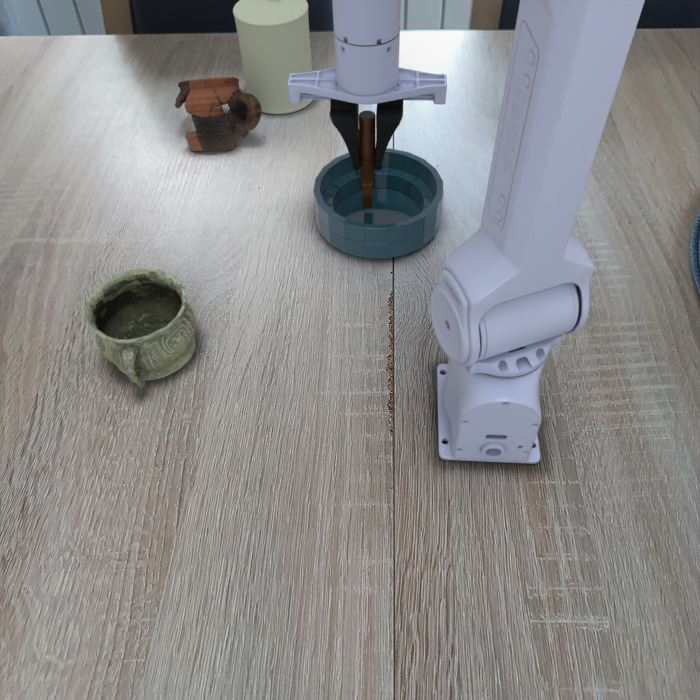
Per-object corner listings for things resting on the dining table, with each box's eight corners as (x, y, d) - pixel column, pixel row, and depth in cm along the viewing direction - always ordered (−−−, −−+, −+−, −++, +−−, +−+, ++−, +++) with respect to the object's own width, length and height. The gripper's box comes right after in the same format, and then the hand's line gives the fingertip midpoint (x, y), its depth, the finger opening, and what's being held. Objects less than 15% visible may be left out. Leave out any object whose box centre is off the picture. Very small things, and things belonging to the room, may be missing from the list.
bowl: (441, 263, 67) (444, 230, 63) (310, 260, 68) (307, 226, 64) (438, 182, 75) (441, 148, 72) (322, 180, 76) (320, 147, 72)
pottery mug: (166, 154, 81) (154, 82, 78) (213, 147, 89) (203, 82, 86) (247, 150, 76) (237, 72, 73) (289, 143, 84) (281, 73, 81)
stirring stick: (374, 207, 70) (374, 123, 62) (359, 207, 70) (357, 123, 62) (375, 190, 71) (376, 106, 64) (361, 189, 72) (359, 106, 64)
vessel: (121, 302, 65) (100, 255, 60) (210, 300, 64) (197, 253, 60) (92, 403, 57) (65, 358, 52) (192, 401, 57) (176, 356, 52)
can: (319, 79, 90) (313, -14, 81) (309, 115, 85) (302, 21, 75) (254, 77, 91) (240, -15, 82) (240, 113, 85) (223, 19, 76)
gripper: (449, 9, 59) (438, 142, 69) (289, 9, 59) (301, 140, 70) (452, 48, 54) (439, 183, 65) (278, 47, 55) (294, 181, 66)
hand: (367, 164), depth 67 cm, fingers closed on stirring stick, 1 cm apart
